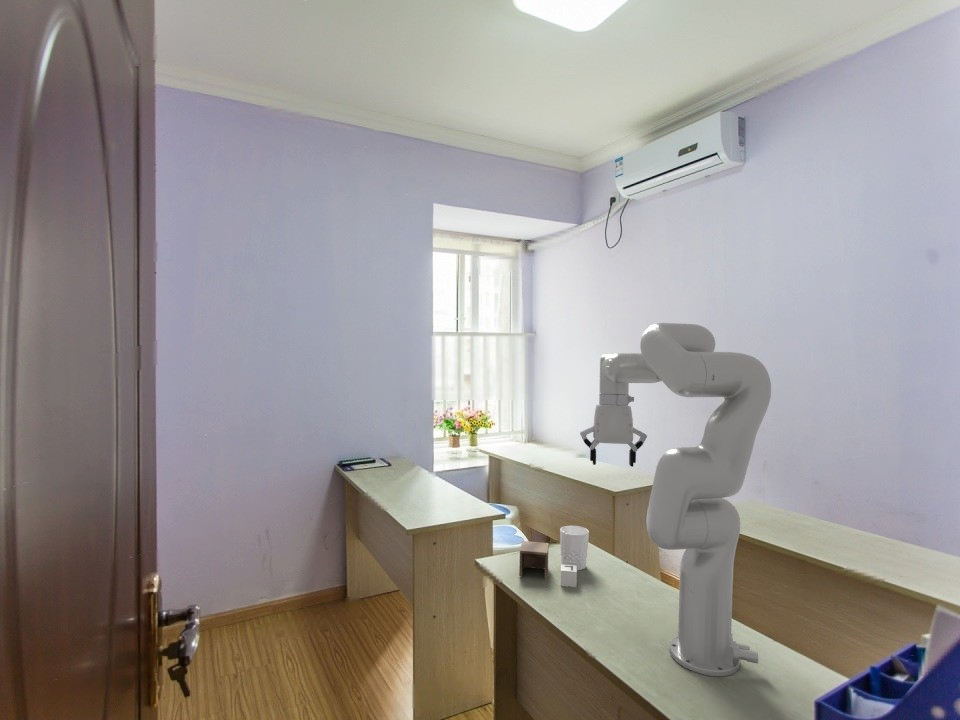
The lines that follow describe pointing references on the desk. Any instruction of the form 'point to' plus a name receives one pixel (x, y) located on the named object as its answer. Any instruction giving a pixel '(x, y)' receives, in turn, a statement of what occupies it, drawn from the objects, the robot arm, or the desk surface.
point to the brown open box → (534, 556)
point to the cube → (568, 575)
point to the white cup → (574, 546)
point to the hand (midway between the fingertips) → (612, 464)
